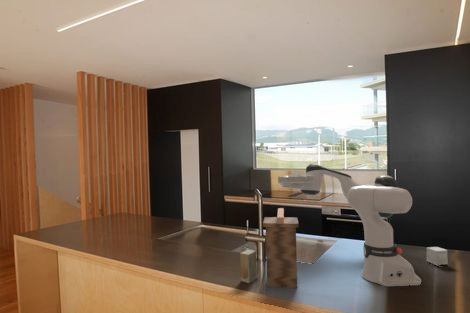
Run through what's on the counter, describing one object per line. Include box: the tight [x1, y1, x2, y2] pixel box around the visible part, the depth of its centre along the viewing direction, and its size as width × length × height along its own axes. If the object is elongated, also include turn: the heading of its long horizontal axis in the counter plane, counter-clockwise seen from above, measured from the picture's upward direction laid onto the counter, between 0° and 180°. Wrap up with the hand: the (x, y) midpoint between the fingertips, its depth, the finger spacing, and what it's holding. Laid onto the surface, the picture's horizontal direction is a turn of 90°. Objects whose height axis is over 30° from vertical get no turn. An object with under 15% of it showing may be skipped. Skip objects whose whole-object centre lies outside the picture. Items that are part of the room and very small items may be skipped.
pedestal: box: [262, 216, 299, 289], centre depth 130 cm, size 14×12×26 cm
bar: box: [276, 207, 285, 224], centre depth 134 cm, size 2×21×2 cm, turn 171°
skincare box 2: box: [426, 246, 449, 265], centre depth 147 cm, size 6×6×7 cm
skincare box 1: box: [239, 249, 258, 284], centre depth 133 cm, size 6×4×12 cm
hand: (295, 177), depth 167 cm, fingers open, 8 cm apart
